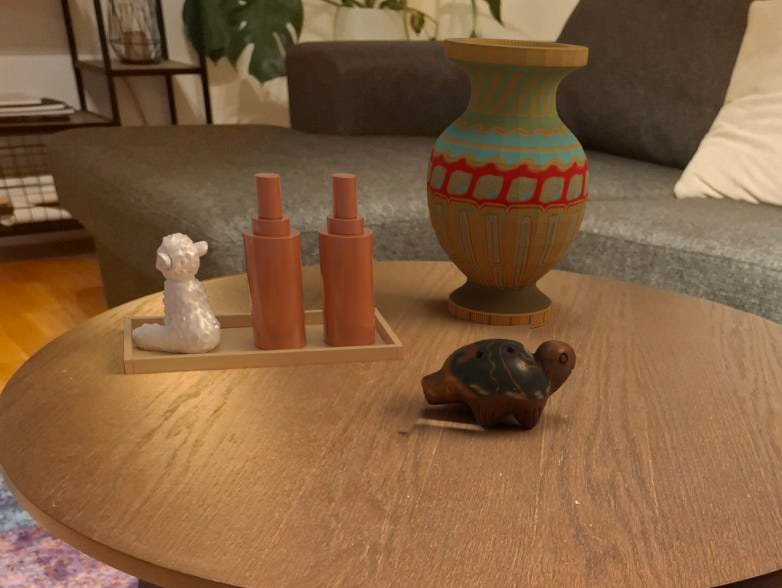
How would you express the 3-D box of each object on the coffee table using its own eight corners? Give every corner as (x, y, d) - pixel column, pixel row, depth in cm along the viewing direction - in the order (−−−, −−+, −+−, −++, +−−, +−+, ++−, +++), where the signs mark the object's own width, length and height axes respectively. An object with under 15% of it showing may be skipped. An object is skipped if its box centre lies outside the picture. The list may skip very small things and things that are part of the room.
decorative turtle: (584, 433, 89) (590, 354, 84) (433, 449, 86) (430, 369, 81) (556, 391, 96) (561, 316, 91) (416, 405, 93) (412, 329, 88)
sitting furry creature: (199, 328, 106) (184, 218, 99) (248, 345, 102) (237, 232, 95) (130, 346, 100) (109, 231, 93) (180, 365, 96) (162, 246, 89)
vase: (440, 287, 128) (446, 33, 110) (579, 300, 126) (608, 45, 109) (409, 328, 112) (411, 40, 95) (567, 344, 110) (599, 53, 93)
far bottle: (316, 345, 104) (307, 177, 93) (332, 330, 108) (325, 168, 98) (367, 351, 103) (363, 182, 93) (380, 335, 108) (378, 173, 97)
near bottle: (245, 349, 101) (228, 177, 91) (264, 333, 106) (250, 168, 96) (297, 354, 101) (284, 182, 90) (313, 338, 106) (304, 172, 95)
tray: (126, 379, 94) (123, 359, 93) (127, 335, 105) (123, 317, 104) (403, 364, 102) (403, 346, 101) (376, 324, 113) (376, 307, 112)
